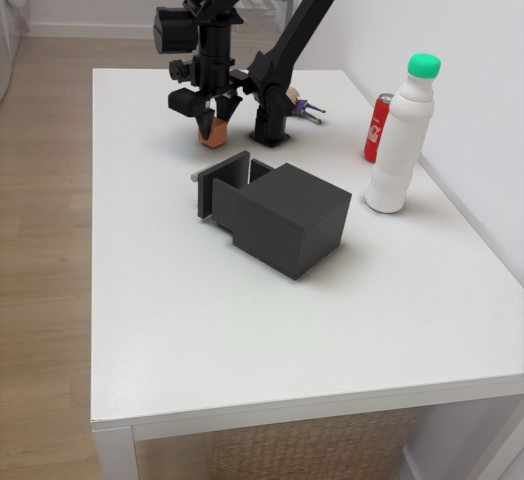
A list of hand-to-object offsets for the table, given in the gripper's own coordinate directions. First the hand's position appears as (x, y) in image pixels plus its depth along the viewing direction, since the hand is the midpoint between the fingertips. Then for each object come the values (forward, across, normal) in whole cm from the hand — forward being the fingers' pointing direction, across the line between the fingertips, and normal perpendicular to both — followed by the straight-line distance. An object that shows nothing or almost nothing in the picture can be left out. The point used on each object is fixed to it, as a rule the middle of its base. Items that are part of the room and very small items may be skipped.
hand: (212, 136), depth 105 cm
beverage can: (+2, -21, +26) cm, 34 cm away
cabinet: (+2, +16, +31) cm, 35 cm away
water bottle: (+2, -7, +36) cm, 37 cm away
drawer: (+1, +16, +20) cm, 26 cm away
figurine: (+2, -24, +2) cm, 24 cm away
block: (+1, 0, 0) cm, 1 cm away
